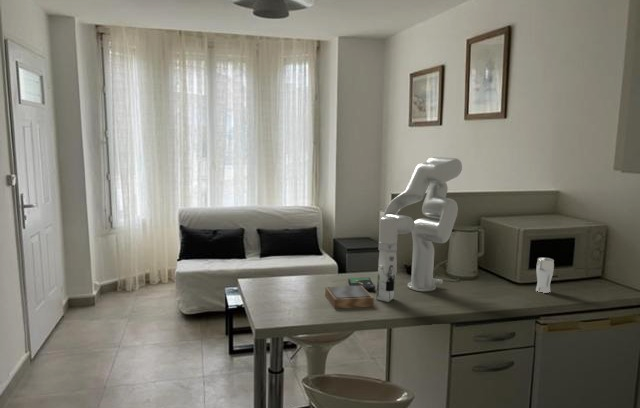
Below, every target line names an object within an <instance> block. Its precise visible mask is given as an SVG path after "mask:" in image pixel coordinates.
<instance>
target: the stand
mask: <svg viewBox="0 0 640 408" xmlns="http://www.w3.org/2000/svg"><path fill="white" fill-rule="evenodd" d="M324 287H325V290H324V291H325V292H324V296H325V297H326V298H327V301H328V302H329V303H330V304H331V306H332V307H333V309H352V308H356V309H357V308H373V307H374V302H375V301H374V300H375V298H374V296H373V295H372V294H371V292H368V291H367V290H366V289H365V288H364V287H363V286H350V285H346V286H344V285H343V286H324Z"/></svg>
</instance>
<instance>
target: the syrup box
mask: <svg viewBox="0 0 640 408" xmlns="http://www.w3.org/2000/svg"><path fill="white" fill-rule="evenodd" d="M377 266H378V265H377ZM388 274H391V272H390V269H389V272H388ZM389 278H390V276H389ZM394 280H395V281H394V291H386V281H387V277H386V275H384V274H383V266H381V265H380V266H378V268H377V282H376V283H377V285H376V300H377V301H378V300H379V301H383V302H387V303H389V302H391V301H393V300H394V298H395V287H396V278H395V279H394Z"/></svg>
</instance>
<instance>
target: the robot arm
mask: <svg viewBox="0 0 640 408" xmlns="http://www.w3.org/2000/svg"><path fill="white" fill-rule="evenodd" d="M462 164H463V163H462V162H461V160H460V159H458V158H456V157H455V158H454V157H443V156H442V157H437V156H433V157H429V158H427V159H426V161H425V162H420V163H418V164H417V165H416V166H415V167H414V169H413V171H412V173H411V176H410V178H409V180H408V182H407V185H406V187H405V189H404V191H402V192H401V193H399V194H398V195H397V196H396V197H394V198H393V199H392V200H391V201H390V202H388V205H387V207H386V208H385V210H384V212H383V215H382V217H380V219H379V229H378V249H377V250H378V251H379V253H378V255H379V256H378V262H377V263H378V265H377V266H380V265H381V266H383V274H384V275H386V277H387V281H386V291H394V281H395V282H396V276H397V275H398V273H397V272H398V265H397V264H398V263H397V262H398V260H397V259H398V258H397V251H398V235H399V234H400V235H406V234H410V233H411V237H412V257H411V259H412V260H411V261H412V262H411V276H410V278H411V279H410V281H409V282H407V288H408V289H411V290H413V291H416V292H433V291H435V290H436V289H437V286H436V285H437V284H438V285H439V284H442V285H443V283H444V281H443V279H442V278H441V279H438V278H434V264H435V263H434V261H435V247H434V244H433V243H438V244H445V243H447V242H448V240H449V239H450V237H451V235H452V231H453V228H454V226H455V223H456V220H457V217H458V212H459V207H458V203H457V201H456V200H455V199H453V198H449V197H447V194H448V189H449V187H448V184H447V182H449V181H451V180H453V179H456V178H458V177H459V175H460V174H461V173H462V170H463V165H462ZM424 197H425V198H424ZM423 199H424V201H423V203H422V207H421V213H422V214H423V215H424V216H426V217H429V218H431V219H429V218H424V217H421V218H417V219H415V220H414V219H413V218H412V217H411V216H408V215H404V214H403V215H402V214H398V213H399V212H400V211H401V210H403V208H405V207H408V206H410V205H412V204H413V205H414V204H416V203H419V202H421V201H422V200H423ZM432 218H433V219H432ZM437 219H439V220H437ZM389 269H390V272H391V274H388V272H389ZM389 276H390V278H389ZM394 279H395V280H394ZM394 292H395V291H394Z"/></svg>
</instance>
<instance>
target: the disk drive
mask: <svg viewBox="0 0 640 408" xmlns="http://www.w3.org/2000/svg"><path fill="white" fill-rule="evenodd" d="M347 283H348V286H363V287H364V288H365V289H366V290H367V291H368V292H369V293H375V291H376V288H375V284H374V283H373V281H372V279H371V277H349V278H348V279H347Z"/></svg>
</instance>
